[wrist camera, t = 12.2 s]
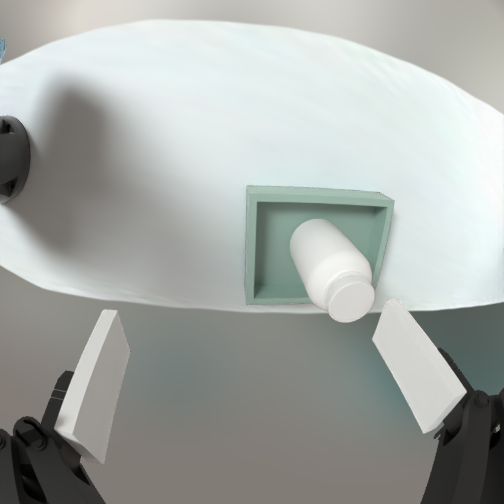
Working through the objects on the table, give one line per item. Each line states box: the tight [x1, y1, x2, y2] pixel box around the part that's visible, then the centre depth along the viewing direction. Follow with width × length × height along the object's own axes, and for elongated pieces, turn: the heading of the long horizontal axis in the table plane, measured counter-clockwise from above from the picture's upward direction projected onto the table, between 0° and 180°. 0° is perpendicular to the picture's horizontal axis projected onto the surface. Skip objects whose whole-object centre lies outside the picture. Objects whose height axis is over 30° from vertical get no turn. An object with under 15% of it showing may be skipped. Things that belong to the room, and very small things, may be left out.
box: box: [245, 186, 394, 305], centre depth 39 cm, size 20×16×4 cm
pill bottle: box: [289, 219, 375, 323], centre depth 34 cm, size 8×8×15 cm
